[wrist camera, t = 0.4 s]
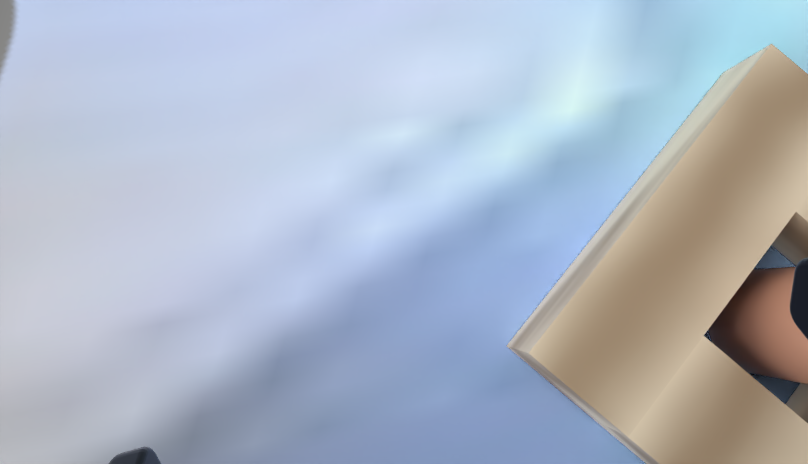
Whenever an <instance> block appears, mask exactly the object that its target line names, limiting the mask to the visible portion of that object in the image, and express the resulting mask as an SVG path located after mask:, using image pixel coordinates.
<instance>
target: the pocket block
mask: <svg viewBox="0 0 808 464" xmlns="http://www.w3.org/2000/svg"><path fill="white" fill-rule="evenodd" d="M771 245H772V246H773V247H774V248H775V249H777V250H778V251H779V252H780V253H781V254H783V255H784V256H785V257H786V258H787V259H788V260H790V261H791V262H792V263H793V264H794V265H797V264H798V262H799V261H801V260H802V259H805V258H808V74H807V73H806V72H805V71H803V70H802V69H801V68H800V67H799V66H797V65H796V64H795V63H794V62H793V61H791V60H790V59H789V58H788V57H787V56H786V55H784V54H783V53H782V52H781V51H780V50H778V49H777V48H776V47H775V46H774V45H772V44H770V45H769V46H767V47H765V48H764V49H762V50H760V51H759V52H757V53H755V54H754V55H752V56H750V57H749V58H747V59H745V60H744V61H742V62H740V63H739V64H737V65H735V66H734V67H732V68H730V69H729V70H727V71H725V72H724V73H722V75H721V76H720V77H719V79H718V80H717V81H716V82H715V84H714V85H713V86H712V87H711V89H710V90H709V91H708V92H707V94H706V95H705V96H704V97H703V99H702V100H701V101H700V102H699V104H698V105H697V106H696V108H695V109H694V110H693V111H692V113H691V114H690V115H689V116H688V118H687V119H686V120H685V121H684V123H683V124H682V125H681V126H680V128H679V129H678V130H677V131H676V133H675V134H674V135H673V137H672V138H671V139H670V140H669V142H668V143H667V144H666V145H665V147H664V148H663V149H662V150H661V152H660V153H659V154H658V155H657V157H656V158H655V159H654V160H653V162H652V163H651V164H650V166H649V167H648V168H647V169H646V171H645V172H644V173H643V174H642V176H641V177H640V178H639V179H638V181H637V182H636V183H635V184H634V186H633V187H632V188H631V190H630V191H629V192H628V193H627V195H626V196H625V197H624V198H623V200H622V201H621V202H620V203H619V205H618V206H617V207H616V208H615V210H614V211H613V212H612V213H611V215H610V216H609V217H608V219H607V220H606V221H605V222H604V224H603V225H602V226H601V227H600V229H599V230H598V231H597V232H596V234H595V235H594V236H593V237H592V239H591V240H590V241H589V242H588V244H587V245H586V246H585V248H584V249H583V250H582V251H581V253H580V254H579V255H578V256H577V258H576V259H575V260H574V261H573V263H572V264H571V265H570V266H569V268H568V269H567V270H566V271H565V273H564V274H563V275H562V277H561V278H560V279H559V280H558V282H557V283H556V284H555V285H554V287H553V288H552V289H551V290H550V292H549V293H548V294H547V295H546V297H545V298H544V299H543V301H542V302H541V303H540V304H539V306H538V307H537V308H536V309H535V311H534V312H533V313H532V314H531V316H530V317H529V318H528V319H527V321H526V322H525V323H524V324H523V326H522V327H521V328H520V330H519V331H518V332H517V333H516V335H515V336H514V337H513V338H512V340H511V341H510V342H509V343H508V345H507V347H508V348H509V349H511V350H512V351H513V352H514V353H515V354H517V355H518V356H519V357H520V358H521V359H523V360H524V361H525V362H526V363H527V364H528V365H530V366H531V367H532V368H533V369H534V370H536V371H537V372H538V373H539V374H540V375H542V376H543V377H544V378H545V379H546V380H547V381H549V382H550V383H551V384H552V385H553V386H555V387H556V388H557V389H558V390H559V391H560V392H562V393H563V394H564V395H565V396H566V397H568V398H569V399H570V400H571V401H572V402H574V403H575V404H576V405H577V406H578V407H579V408H581V409H582V410H583V411H584V412H585V413H587V414H588V415H589V416H590V417H591V418H593V419H594V420H595V421H596V422H597V423H598V424H600V425H601V426H602V427H603V428H604V429H606V430H607V431H608V432H609V433H610V434H612V435H613V436H614V437H615V438H616V439H617V440H619V441H620V442H621V443H622V444H623V445H625V446H626V447H627V448H628V449H629V450H630V451H632V452H633V453H634V454H635V455H636V456H638V457H639V458H640V459H641V460H642V461H644V462H645V463H646V464H808V384H804V383H800V384H799V386H798V387H797V388H796V390H795V391H794V393H793V394H792V395H791V397H790V398H789V400H788V401H787V403H786V404H784V403H783V402H782V401H781V400H779V399H778V398H777V397H776V396H775V395H774V394H772V393H771V392H770V391H769V390H768V389H766V388H765V387H764V386H763V385H762V384H760V383H759V382H758V381H757V380H756V379H755V378H753V377H752V376H751V375H750V374H749V373H747V372H746V371H745V370H744V369H743V368H741V367H740V366H739V365H738V364H737V363H736V362H734V361H733V360H732V359H731V358H730V357H728V356H727V355H726V354H725V353H724V352H722V351H721V350H720V349H719V348H718V347H717V346H715V345H714V344H713V343H712V342H711V341H709V340H708V339H707V338H706V337H705V336H704V335H705V333H706V332H707V331H708V329H709V328H710V327H711V325H712V324H713V322H714V321H715V320H716V318H717V317H718V316H719V314H720V313H721V312H722V310H723V309H724V308H725V306H726V305H727V304H728V302H729V301H730V300H731V298H732V297H733V296H734V294H735V293H736V292H737V290H738V289H739V288H740V286H741V285H742V284H743V282H744V281H745V280H746V278H747V277H748V275H749V274H750V273H751V271H752V270H753V269H754V267H755V266H756V265H757V263H758V262H759V261H760V259H761V258H762V257H763V255H764V254H765V253H766V251H767V250H768V249H769V247H770V246H771Z"/></svg>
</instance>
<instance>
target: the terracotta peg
mask: <svg viewBox="0 0 808 464" xmlns="http://www.w3.org/2000/svg"><path fill="white" fill-rule="evenodd" d="M794 271H795V267H784V268H768V269H753V270H752V271H751V273H750V274H749V275H748V277H747V278H746V280H745V281H744V282H743V284H742V285H741V286H740V288H739V289H738V290H737V292H736V293H735V294H734V296H733V297H732V298H731V300H730V301H729V302H728V304H727V305H726V306H725V308H724V309H723V310H722V312H721V313H720V314H719V316H718V317H717V318H716V320H715V321H714V322H713V324H712V325H711V327H710V328H709V329H708V330H709V334H710V337H711V340H712V342H713V344H714V345H715V346H717V347H718V348H719V349H720V350H721V351H722V352H724V353H725V354H726V355H727V356H728V357H730V358H731V359H732V360H733V361H734V362H736V363H737V364H738V365H739V366H740V367H741V368H743V369H744V370H745V371H746V372H748V373H753V374H758V375H763V376H768V377H773V378H779V379H784V380H789V381H794V382H799V383H804V384H808V340H807V338H806V337H805V336H804V335H803V333H802V332H801V331H800V329H799V328H798V327H797V326H796V324H795V323H794V321H793V319H792V317H791V313H790V299H791V292H792V285H793V278H794Z"/></svg>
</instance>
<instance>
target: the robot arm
mask: <svg viewBox="0 0 808 464" xmlns="http://www.w3.org/2000/svg"><path fill="white" fill-rule="evenodd" d="M790 313H791V317H792V319H793V321H794V323H795V324H796V326H797V327H798V328H799V329H800V331H801V332H802V333H803V335H804V336H805V337H806V338H807V340H808V258H805V259H802V260H801V261H799V262H798V264H797V265H796V267H795V271H794V278H793V285H792V292H791V299H790ZM109 464H161V463H160V461H159V459H158V457H157V455H156V454H155V452H154V451H153V450H152V449H151V448H149V447H141V448H138V449H134V450H131V451H127V452H124V453H120V454H118V455H116V456H115V457H114V458H113V459H112V460H111V461H110V463H109Z"/></svg>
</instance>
